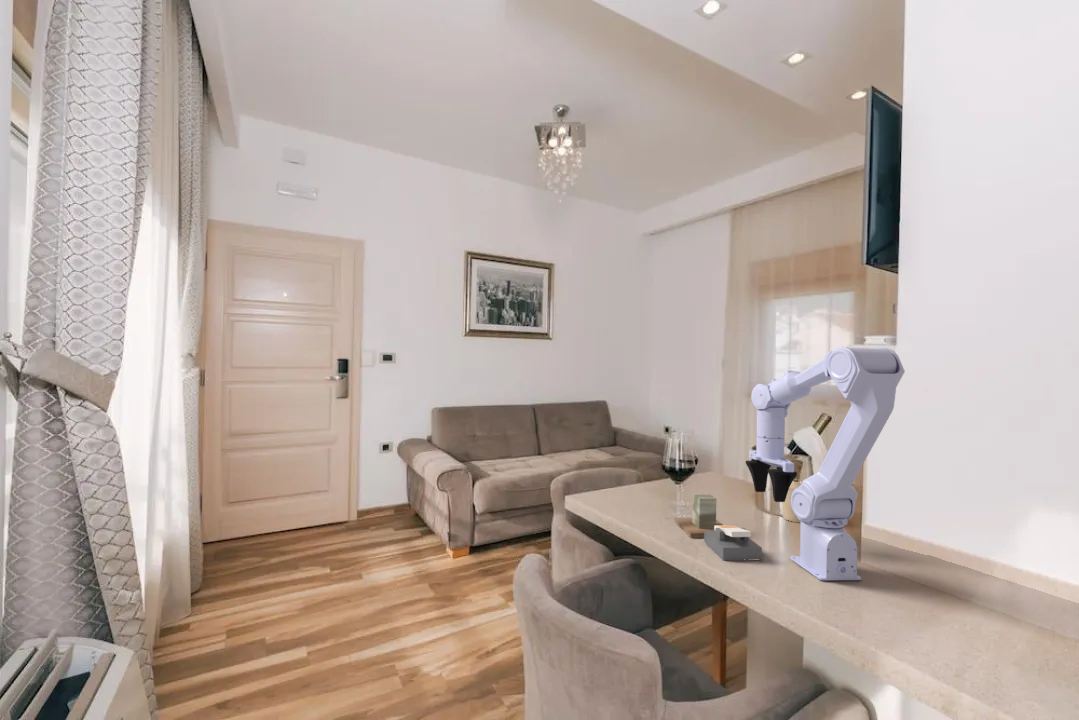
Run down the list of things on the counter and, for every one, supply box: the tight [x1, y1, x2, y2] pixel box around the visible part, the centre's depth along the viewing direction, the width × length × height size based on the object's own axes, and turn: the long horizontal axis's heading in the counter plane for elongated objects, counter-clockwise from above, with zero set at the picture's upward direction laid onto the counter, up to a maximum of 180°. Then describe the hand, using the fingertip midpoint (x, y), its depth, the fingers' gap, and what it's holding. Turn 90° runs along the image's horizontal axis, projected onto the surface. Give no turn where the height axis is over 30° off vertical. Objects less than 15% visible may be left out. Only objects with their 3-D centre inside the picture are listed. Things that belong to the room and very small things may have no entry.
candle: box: [782, 480, 803, 524], centre depth 116 cm, size 6×6×10 cm
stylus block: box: [691, 492, 717, 528], centre depth 107 cm, size 4×4×7 cm
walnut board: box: [674, 517, 724, 539], centre depth 107 cm, size 10×10×1 cm
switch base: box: [703, 527, 763, 561], centre depth 95 cm, size 9×8×4 cm
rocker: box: [714, 524, 752, 538], centre depth 95 cm, size 8×4×1 cm, turn 3°
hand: (769, 496), depth 103 cm, fingers open, 7 cm apart
